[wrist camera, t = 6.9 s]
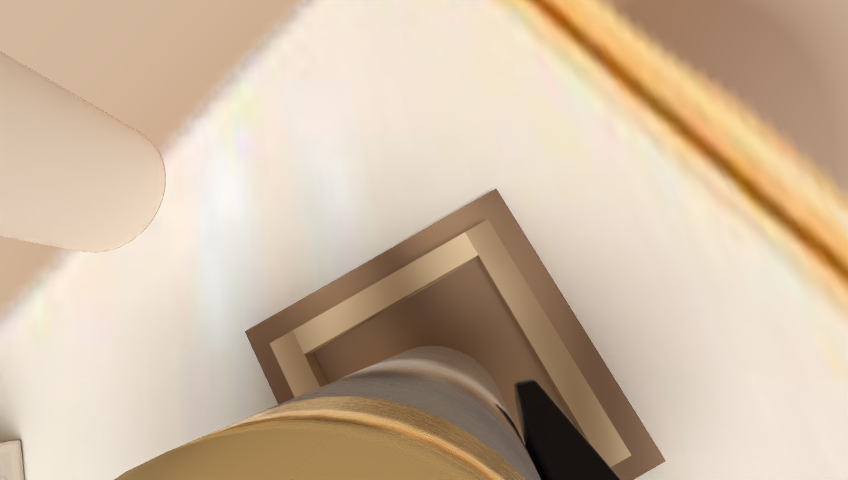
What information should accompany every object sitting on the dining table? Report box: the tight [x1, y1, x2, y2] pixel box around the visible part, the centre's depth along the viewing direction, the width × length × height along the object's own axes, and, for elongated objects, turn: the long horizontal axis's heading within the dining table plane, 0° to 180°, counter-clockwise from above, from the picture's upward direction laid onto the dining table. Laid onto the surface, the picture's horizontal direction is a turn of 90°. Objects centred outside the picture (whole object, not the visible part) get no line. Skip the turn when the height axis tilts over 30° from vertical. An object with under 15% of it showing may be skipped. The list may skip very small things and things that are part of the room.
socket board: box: [245, 189, 665, 480], centre depth 21 cm, size 14×14×2 cm
